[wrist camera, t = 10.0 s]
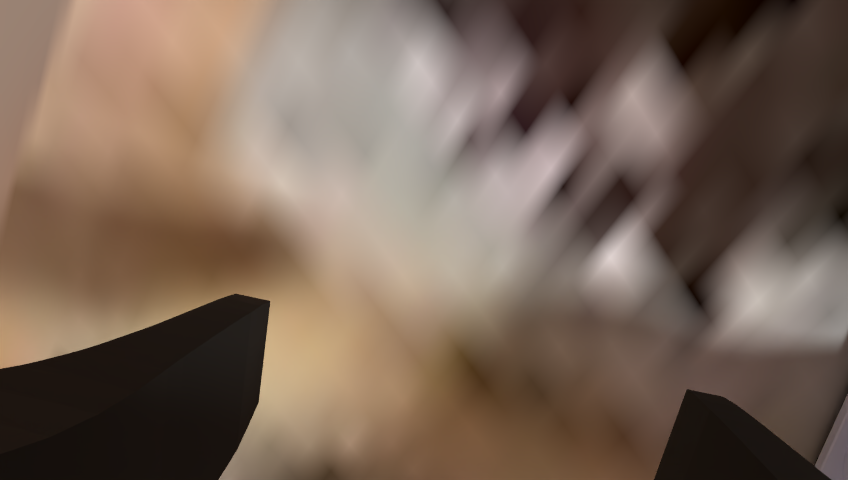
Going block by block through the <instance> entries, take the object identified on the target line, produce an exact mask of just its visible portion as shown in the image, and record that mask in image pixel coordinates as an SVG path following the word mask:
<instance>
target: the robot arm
mask: <svg viewBox="0 0 848 480" xmlns="http://www.w3.org/2000/svg"><path fill="white" fill-rule="evenodd" d="M269 307H270V301H267V300H263V299H258V298H253V297H249V296H244V295H239V294H234V295H230V296H227V297H224V298H221V299H218V300H216V301H213V302H211V303H208V304H206V305H203V306H201V307H198V308H196V309H193V310H191V311H189V312H186V313H184V314H181V315H179V316H176V317H174V318H171V319H169V320H166V321H164V322H161V323H159V324H156V325H154V326H151V327H148V328H145V329H143V330H140V331H137V332H134V333H131V334H128V335H125V336H123V337H120V338H117V339H114V340H111V341H108V342H105V343H102V344H100V345H97V346H93V347H90V348H87V349H83V350H80V351H76V352H73V353H69V354H66V355H62V356H58V357H54V358H50V359H46V360H42V361H38V362H33V363H29V364H24V365H20V366H14V367H9V368H3V369H0V480H218V479H219V478H220V476H221V475H222V473H223V471H224V470H225V468H226V467H227V465H228V463H229V462H230V460H231V459H232V457H233V455H234V454H235V452H236V450H237V449H238V446H239V444H240V442H241V440H242V438H243V436H244V434H245V432H246V429H247V427H248V425H249V423H250V420H251V418H252V416H253V414H254V411H255V409H256V407H257V405H258V402H259V394H260V385H261V376H262V368H263V359H264V350H265V342H266V333H267V325H268V316H269ZM654 480H848V394H847V396H846V399H845V401H844V403H843V405H842V407H841V410H840V412H839V414H838V416H837V418H836V420H835V423H834V425H833V427H832V429H831V431H830V434H829V436H828V438H827V440H826V442H825V444H824V447H823V449H822V451H821V453H820V455H819V458H818V460H817V462H816V464H815V466H813V465H812V464H811V463H810V462H808V461H807V460H806V459H805V458H803V457H802V456H801V455H800V454H798V453H797V452H796V451H795V450H793V449H792V448H791V447H790V446H788V445H787V444H786V443H785V442H783V441H782V440H781V439H780V438H778V437H777V436H776V435H775V434H773V433H772V432H771V431H770V430H768V429H767V428H766V427H765V426H763V425H762V424H761V423H760V422H758V421H757V420H756V419H754V418H753V417H752V416H750V415H749V414H748V413H746V412H745V411H744V410H742V409H741V408H740V407H738V406H737V405H735V404H734V403H732V402H731V401H729V400H727V399H726V398H724V397H721V396H716V395H711V394H707V393H702V392H697V391H693V390H688V389H687V391H686V393H685V396H684V399H683V402H682V404H681V407H680V410H679V413H678V415H677V418H676V421H675V424H674V426H673V429H672V432H671V435H670V437H669V440H668V443H667V446H666V448H665V451H664V454H663V457H662V459H661V462H660V465H659V468H658V470H657V473H656V476H655V479H654Z"/></svg>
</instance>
